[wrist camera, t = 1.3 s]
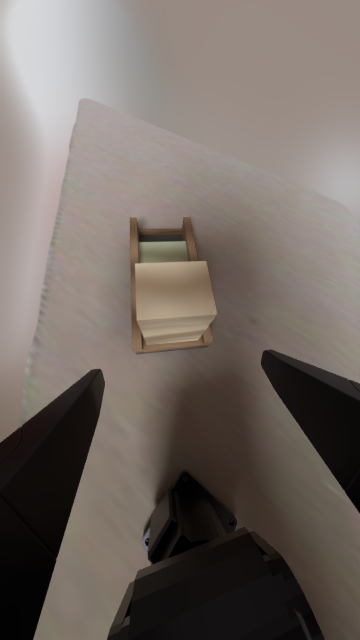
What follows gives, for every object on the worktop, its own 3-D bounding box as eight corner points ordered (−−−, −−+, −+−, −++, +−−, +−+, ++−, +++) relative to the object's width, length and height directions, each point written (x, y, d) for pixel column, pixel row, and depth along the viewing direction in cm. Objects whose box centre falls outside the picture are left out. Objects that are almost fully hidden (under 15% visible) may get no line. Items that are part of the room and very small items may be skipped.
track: (206, 347, 23) (213, 341, 20) (136, 354, 21) (132, 348, 18) (187, 234, 29) (189, 217, 26) (133, 235, 28) (129, 217, 25)
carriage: (197, 340, 20) (217, 314, 13) (146, 345, 20) (136, 320, 12) (192, 302, 22) (206, 260, 15) (145, 305, 21) (135, 263, 14)
